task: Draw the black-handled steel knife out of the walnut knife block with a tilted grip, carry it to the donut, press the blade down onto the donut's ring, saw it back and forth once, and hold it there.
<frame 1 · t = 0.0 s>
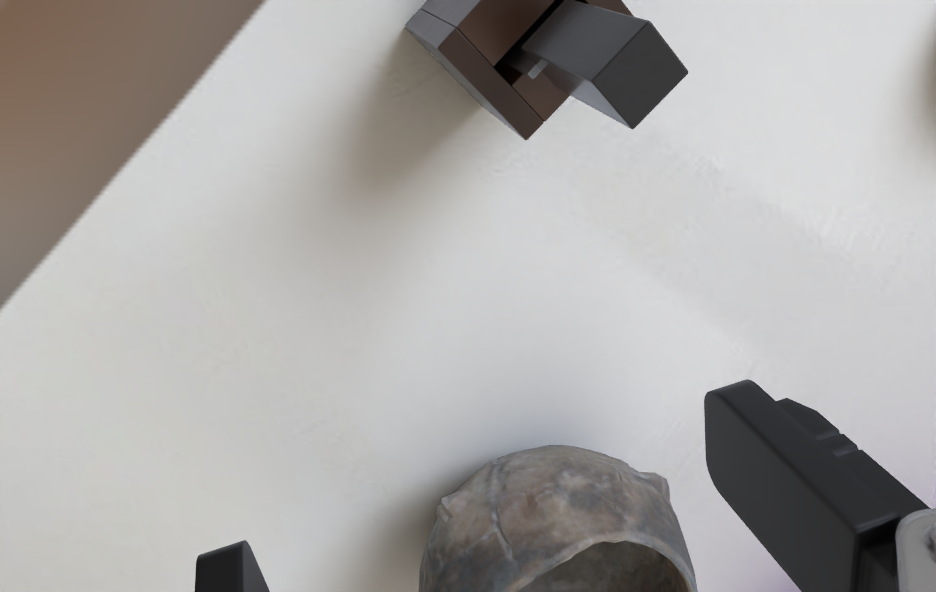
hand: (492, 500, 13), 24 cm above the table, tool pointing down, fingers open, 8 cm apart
knife block: (492, 15, 34), on the table
bowl: (516, 509, 47), on the table
knife: (550, 39, 27), in the knife block
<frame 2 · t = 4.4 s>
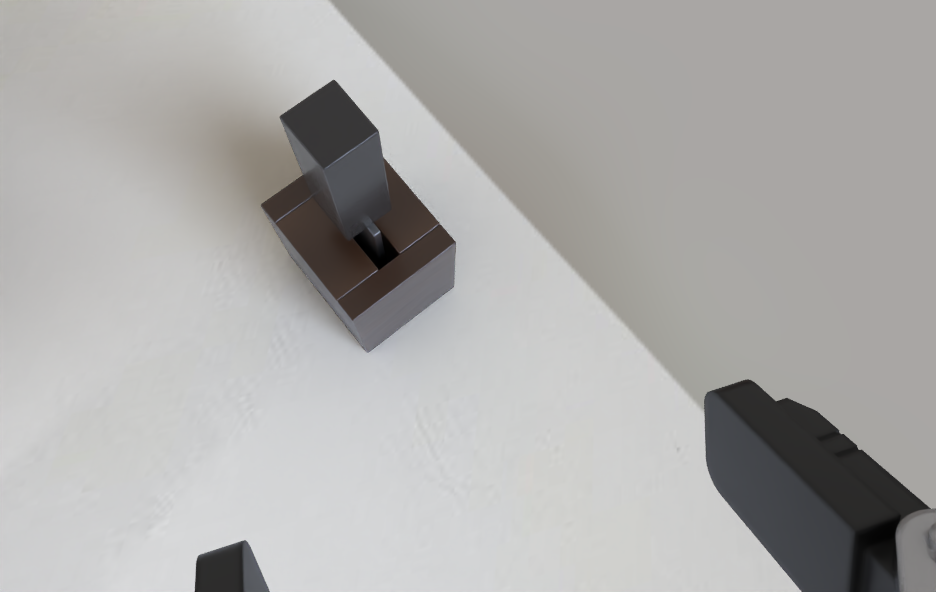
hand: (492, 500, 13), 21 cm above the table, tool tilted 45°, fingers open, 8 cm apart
knife block: (371, 270, 36), on the table
knife: (355, 213, 29), in the knife block
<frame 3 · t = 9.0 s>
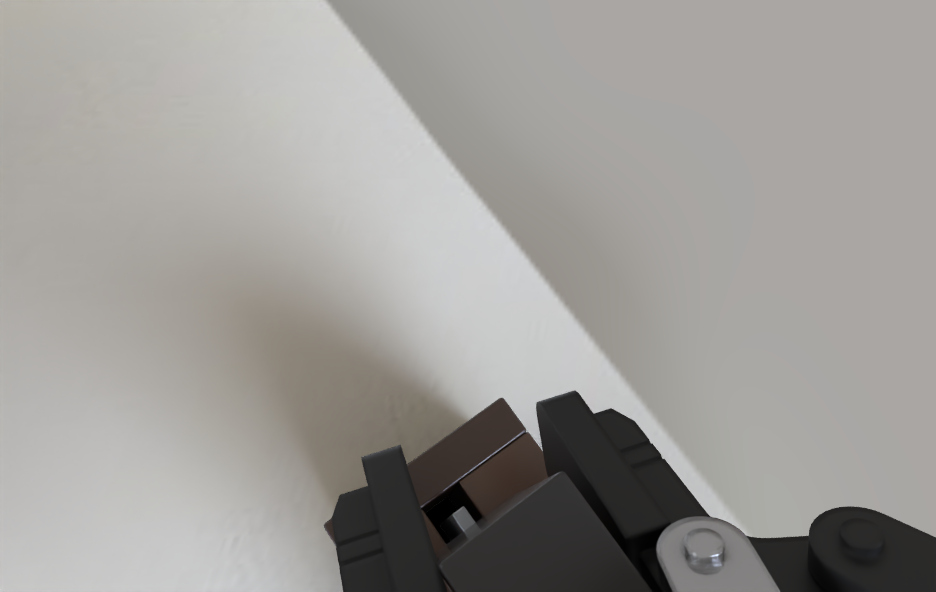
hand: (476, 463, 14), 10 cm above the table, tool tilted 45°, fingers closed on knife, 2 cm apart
knife block: (472, 564, 23), on the table
knife: (497, 572, 16), in the knife block, touching gripper
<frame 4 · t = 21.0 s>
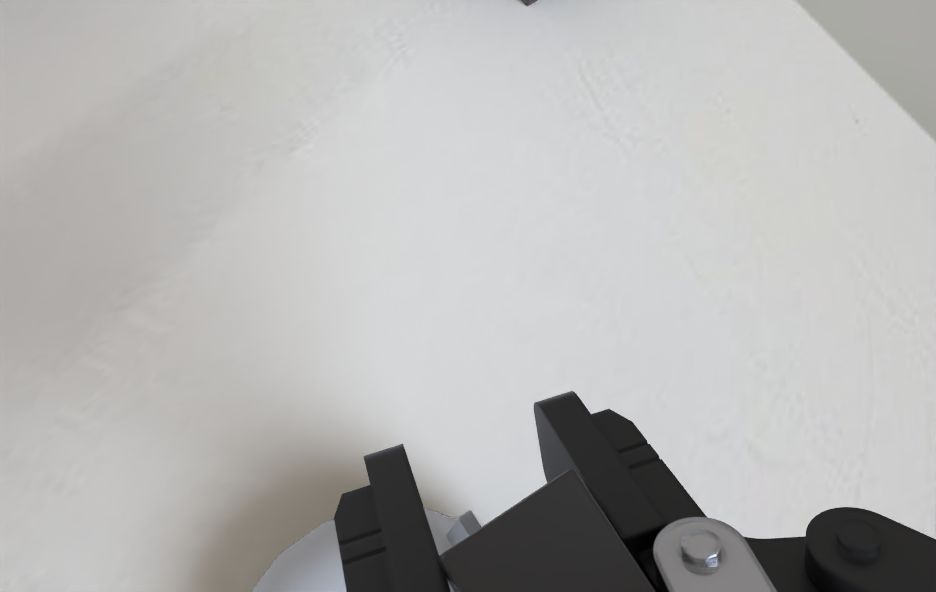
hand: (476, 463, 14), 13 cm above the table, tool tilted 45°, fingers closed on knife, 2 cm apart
knife: (501, 581, 16), point 10 cm above the table, touching donut, gripper
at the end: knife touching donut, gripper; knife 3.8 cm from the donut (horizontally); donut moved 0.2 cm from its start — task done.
